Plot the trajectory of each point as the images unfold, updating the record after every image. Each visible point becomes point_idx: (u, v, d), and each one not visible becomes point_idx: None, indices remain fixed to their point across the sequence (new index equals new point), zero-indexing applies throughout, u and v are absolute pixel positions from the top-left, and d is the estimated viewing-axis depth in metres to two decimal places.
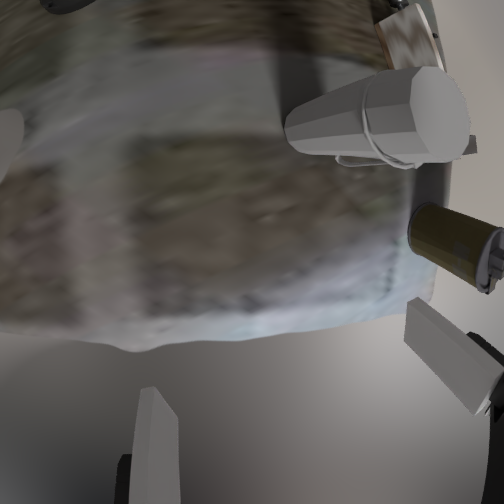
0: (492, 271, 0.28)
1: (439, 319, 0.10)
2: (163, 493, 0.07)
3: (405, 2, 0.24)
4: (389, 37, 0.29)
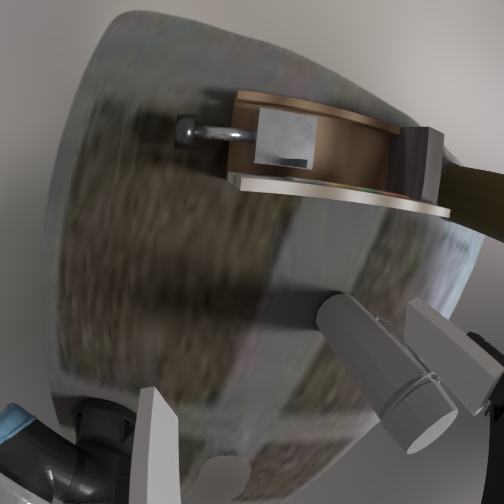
0: None
1: (439, 319, 0.10)
2: (163, 493, 0.07)
3: (194, 126, 0.24)
4: None
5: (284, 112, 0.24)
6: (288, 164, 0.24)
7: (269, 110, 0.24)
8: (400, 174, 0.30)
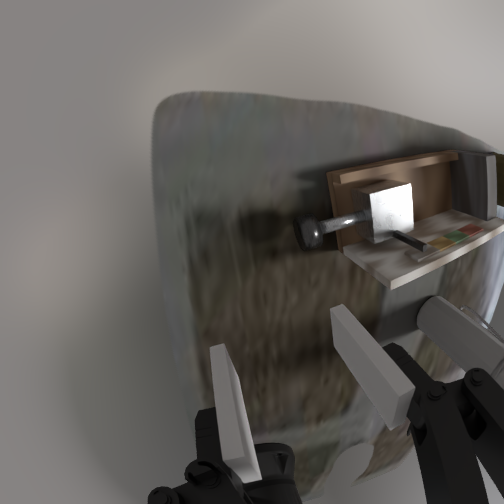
0: None
1: (356, 328, 0.12)
2: (247, 440, 0.09)
3: None
4: None
5: (388, 190, 0.26)
6: (405, 241, 0.26)
7: (377, 193, 0.26)
8: (465, 195, 0.30)
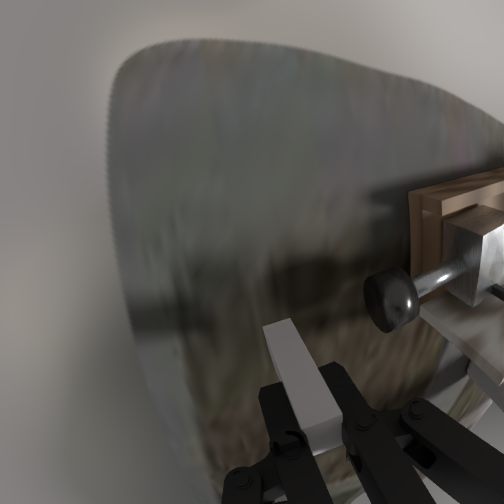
0: None
1: (296, 344, 0.12)
2: None
3: None
4: None
5: (499, 228, 0.13)
6: None
7: (489, 234, 0.13)
8: None
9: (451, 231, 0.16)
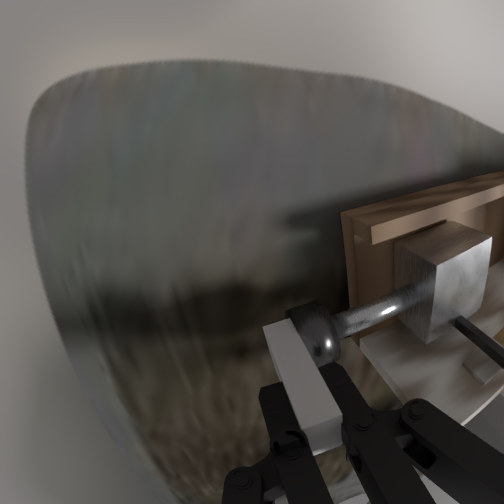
0: None
1: (296, 344, 0.12)
2: None
3: None
4: None
5: (463, 254, 0.12)
6: (474, 342, 0.12)
7: (447, 263, 0.12)
8: None
9: (402, 256, 0.15)
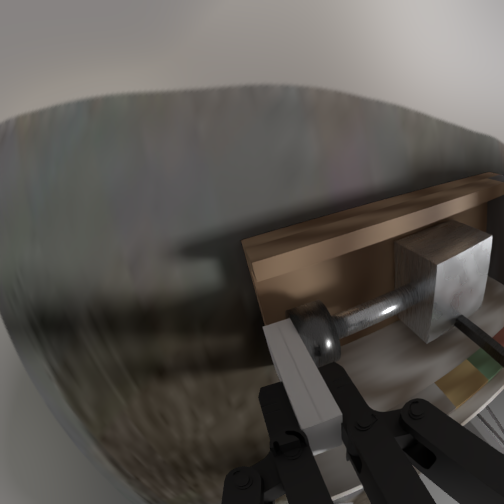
0: None
1: (296, 344, 0.12)
2: None
3: None
4: None
5: (463, 253, 0.12)
6: (475, 341, 0.12)
7: (448, 262, 0.12)
8: None
9: (403, 255, 0.15)
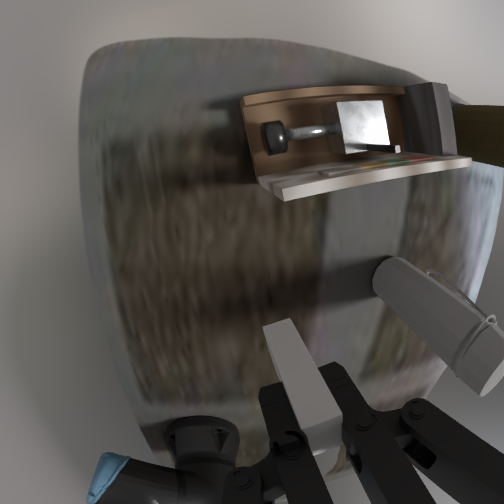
0: None
1: (296, 344, 0.12)
2: None
3: None
4: None
5: (356, 102, 0.24)
6: (377, 149, 0.24)
7: (344, 103, 0.24)
8: (416, 132, 0.28)
9: (325, 110, 0.27)
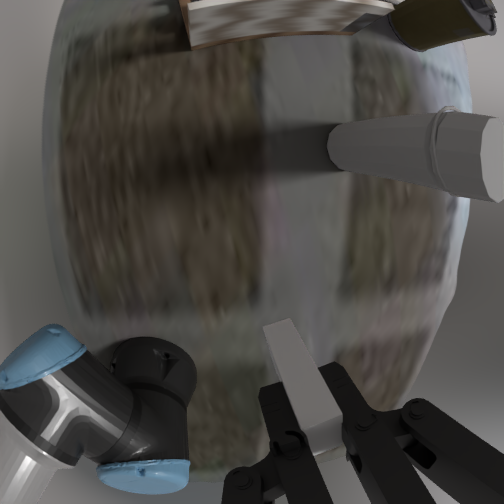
0: (486, 13, 0.14)
1: (296, 344, 0.12)
2: None
3: None
4: (218, 37, 0.26)
5: None
6: None
7: None
8: None
9: None
